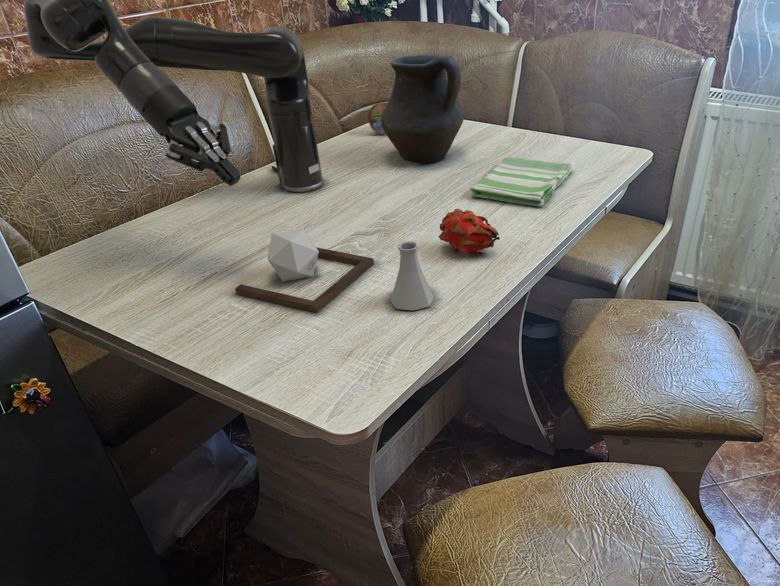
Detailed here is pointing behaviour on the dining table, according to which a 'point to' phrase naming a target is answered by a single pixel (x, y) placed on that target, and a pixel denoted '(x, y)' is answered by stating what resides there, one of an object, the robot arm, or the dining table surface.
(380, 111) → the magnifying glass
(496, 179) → the dish towel
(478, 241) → the dragon fruit
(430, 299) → the flask
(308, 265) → the die
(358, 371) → the dining table surface
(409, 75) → the pitcher
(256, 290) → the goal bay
